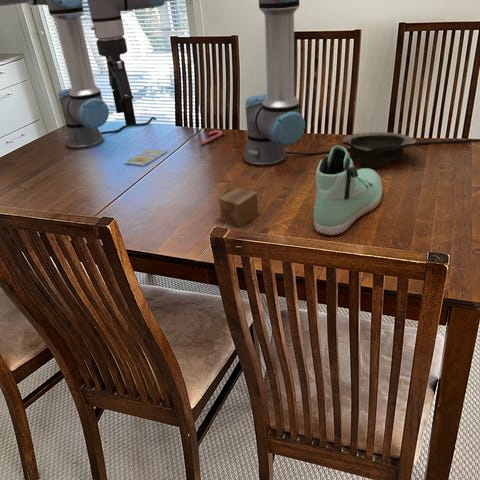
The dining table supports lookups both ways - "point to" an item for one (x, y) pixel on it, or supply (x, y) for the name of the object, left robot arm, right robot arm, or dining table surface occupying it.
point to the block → (238, 207)
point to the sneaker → (343, 192)
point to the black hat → (378, 147)
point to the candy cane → (219, 133)
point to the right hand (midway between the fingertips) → (126, 118)
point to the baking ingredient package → (145, 157)
